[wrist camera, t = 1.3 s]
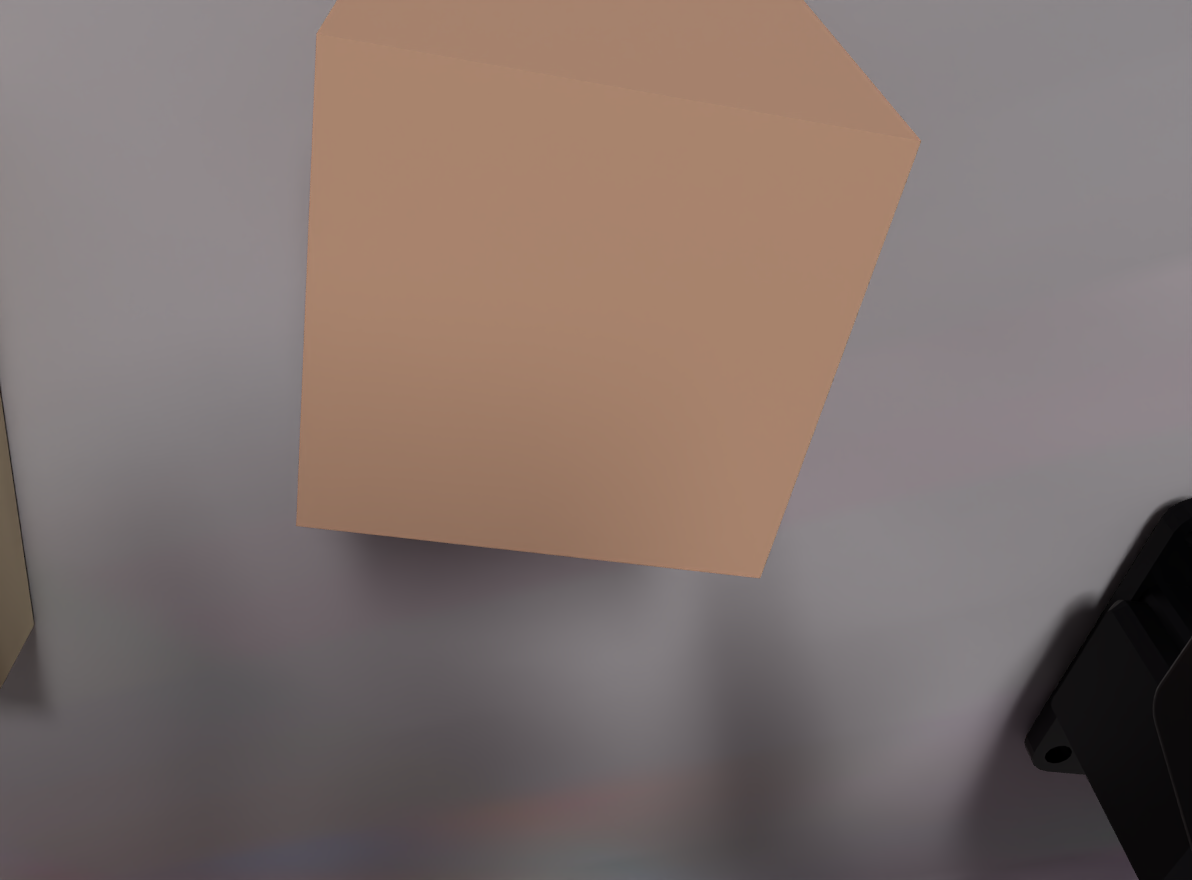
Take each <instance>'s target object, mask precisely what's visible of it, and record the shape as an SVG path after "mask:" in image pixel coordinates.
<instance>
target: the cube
mask: <svg viewBox="0 0 1192 880" xmlns="http://www.w3.org/2000/svg"><path fill="white" fill-rule="evenodd" d="M920 143H921V140H920V139H919V138H918V137H917V135H916V134H915V133H914V132H913V131H912V129H911V128H910V127H909V126H908V125H907V123H906V122H905V121H904V120H903V119H902V118H901V116H900V115H899V114H898V113H897V112H896V110H895V109H894V108H893V107H892V106H891V104H890V103H889V102H888V101H887V100H886V98H885V97H884V96H883V95H882V94H881V92H880V91H879V90H878V89H877V88H876V86H875V85H874V84H873V83H872V82H871V80H870V79H869V78H868V77H867V76H866V74H865V73H864V72H863V71H862V70H861V69H860V67H859V66H858V65H857V64H856V63H855V61H854V60H853V59H852V58H851V57H850V55H849V54H848V53H847V52H846V51H845V49H844V48H843V47H842V46H841V45H840V43H839V42H838V41H837V40H836V39H835V37H834V36H833V35H832V34H831V33H830V31H829V30H828V29H827V28H826V27H825V25H824V24H823V23H822V22H821V21H820V20H819V18H818V17H817V16H816V15H815V14H814V12H813V11H812V10H811V9H810V8H809V6H808V5H807V4H806V3H805V2H804V0H337V1H336V3H335V5H334V6H333V8H332V9H331V11H330V13H329V14H328V16H327V18H326V19H325V21H324V22H323V24H322V26H321V27H320V29H319V30H318V32H317V36H316V60H315V84H314V109H313V133H312V157H311V181H310V205H309V230H308V254H307V278H306V302H305V326H304V351H303V375H302V399H301V423H300V447H299V472H298V496H297V520H296V526H301V527H310V528H319V529H328V530H337V531H346V532H355V533H364V534H372V535H381V536H390V537H399V538H408V539H417V540H426V541H434V542H443V543H452V544H461V545H470V546H479V547H488V548H496V549H505V550H514V551H523V552H532V553H541V554H550V555H559V556H567V557H576V558H585V559H594V560H603V561H612V562H621V563H629V564H638V565H647V566H656V567H665V568H674V569H683V570H692V571H700V572H709V573H718V574H727V575H736V576H745V577H754V578H760V577H761V574H762V572H763V569H764V566H765V564H766V561H767V558H768V555H769V553H770V550H771V547H772V545H773V542H774V539H775V536H776V534H777V531H778V528H779V526H780V523H781V520H782V517H783V515H784V512H785V509H786V507H787V504H788V501H789V498H790V496H791V493H792V490H793V488H794V485H795V482H796V479H797V477H798V474H799V471H800V469H801V466H802V463H803V460H804V458H805V455H806V452H807V450H808V447H809V444H810V441H811V439H812V436H813V433H814V431H815V428H816V425H817V422H818V420H819V417H820V414H821V412H822V409H823V406H824V403H825V401H826V398H827V395H828V393H829V390H830V387H831V384H832V382H833V379H834V376H835V373H836V371H837V368H838V365H839V363H840V360H841V357H842V354H843V352H844V349H845V346H846V344H847V341H848V338H849V335H850V333H851V330H852V327H853V325H854V322H855V319H856V316H857V314H858V311H859V308H860V306H861V303H862V300H863V297H864V295H865V292H866V289H867V287H868V284H869V281H870V278H871V276H872V273H873V270H874V268H875V265H876V262H877V259H878V257H879V254H880V251H881V249H882V246H883V243H884V240H885V238H886V235H887V232H888V230H889V227H890V224H891V221H892V219H893V216H894V213H895V211H896V208H897V205H898V202H899V200H900V197H901V194H902V192H903V189H904V186H905V183H906V181H907V178H908V175H909V173H910V170H911V167H912V164H913V162H914V159H915V156H916V154H917V151H918V148H919V145H920Z"/></svg>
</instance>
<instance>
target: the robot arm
mask: <svg viewBox="0 0 1192 880" xmlns="http://www.w3.org/2000/svg"><path fill="white" fill-rule="evenodd" d="M1191 530H1192V498H1191V499H1188V500H1185V501H1181V502H1179V503H1178V504H1176V505H1175V506H1173V507H1172V508H1170V509H1169V510H1168V511H1167V512H1166V513H1165V515H1164V516H1163V517H1162V518H1161V520H1160V521H1159V523H1158V525H1157V526H1156V528H1155V529H1154V531H1153V533H1152V534H1151V536H1150V537H1149V539H1148V541H1147V542H1146V544H1145V546H1144V547H1143V549H1142V550H1141V552H1140V554H1139V555H1138V557H1137V558H1136V560H1135V562H1134V563H1133V565H1132V566H1131V568H1130V570H1129V571H1128V573H1127V575H1126V576H1125V578H1124V579H1123V581H1122V583H1121V584H1120V586H1119V587H1118V589H1117V591H1116V592H1115V594H1114V595H1113V597H1112V599H1111V600H1110V602H1109V604H1108V605H1107V607H1106V608H1105V610H1104V612H1103V613H1102V615H1101V616H1100V618H1099V620H1098V621H1097V623H1096V624H1095V626H1094V628H1093V629H1092V631H1091V633H1090V634H1089V636H1088V637H1087V639H1086V641H1085V642H1084V644H1083V645H1082V647H1081V649H1080V650H1079V652H1078V654H1077V655H1076V657H1075V658H1074V660H1073V662H1072V663H1071V665H1070V666H1069V668H1068V670H1067V671H1066V673H1065V674H1064V676H1063V678H1062V679H1061V681H1060V683H1059V684H1058V686H1057V687H1056V689H1055V691H1054V692H1053V694H1052V695H1051V697H1050V699H1049V700H1048V702H1047V703H1046V705H1045V707H1044V708H1043V710H1042V712H1041V713H1040V715H1039V716H1038V718H1037V720H1036V721H1035V723H1034V724H1033V726H1032V728H1031V729H1030V731H1029V733H1028V734H1027V736H1026V739H1025V742H1024V743H1025V746H1026V749H1027V751H1028V754H1029V756H1030V758H1031V760H1032V762H1033V764H1034V766H1036V767H1037V768H1038V769H1040V770H1044V771H1050V772H1061V773H1073V774H1084V775H1086V776H1087V778H1088V780H1089V782H1090V784H1091V786H1092V788H1093V790H1094V792H1095V794H1096V796H1097V798H1098V800H1099V802H1100V804H1101V806H1102V808H1103V810H1104V812H1105V814H1106V816H1107V818H1108V820H1109V822H1110V824H1111V826H1112V828H1113V830H1114V831H1115V833H1116V835H1117V837H1118V839H1119V841H1120V843H1121V845H1122V847H1123V849H1124V851H1125V853H1126V855H1127V857H1128V859H1129V861H1130V863H1131V865H1132V867H1133V869H1134V871H1135V873H1136V875H1137V877H1138V879H1139V880H1192V531H1191ZM1190 531H1191V532H1190Z"/></svg>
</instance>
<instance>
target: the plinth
mask: <svg viewBox="0 0 1192 880" xmlns="http://www.w3.org/2000/svg"><path fill="white" fill-rule="evenodd" d="M33 626H34V621H33V614H32V607H31V600H30V594H29V587H28V580H27V573H26V566H25V559H24V552H23V546H22V539H21V532H20V525H19V518H18V511H17V504H16V498H15V491H14V484H13V477H12V470H11V463H10V457H9V450H8V443H7V436H6V429H5V422H4V415H3V409H2V402H1V395H0V689H1V687H2V685H3V683H4V681H5V679H6V677H7V675H8V674H9V672H10V670H11V668H12V666H13V664H14V662H15V660H16V658H17V657H18V655H19V653H20V651H21V649H22V647H23V645H24V643H25V641H26V640H27V638H28V636H29V634H30V632H31V630H32V628H33Z"/></svg>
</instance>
